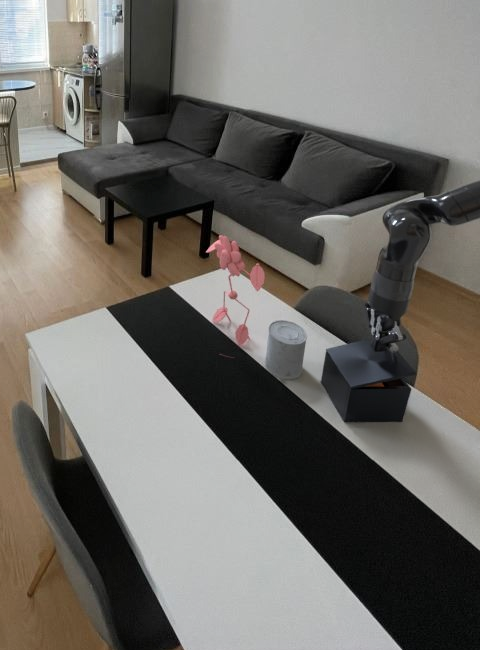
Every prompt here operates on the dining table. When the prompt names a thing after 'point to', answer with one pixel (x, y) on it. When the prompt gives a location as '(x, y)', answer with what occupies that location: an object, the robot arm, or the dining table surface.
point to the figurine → (233, 262)
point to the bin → (365, 397)
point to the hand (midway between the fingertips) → (376, 349)
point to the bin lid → (369, 363)
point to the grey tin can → (285, 349)
